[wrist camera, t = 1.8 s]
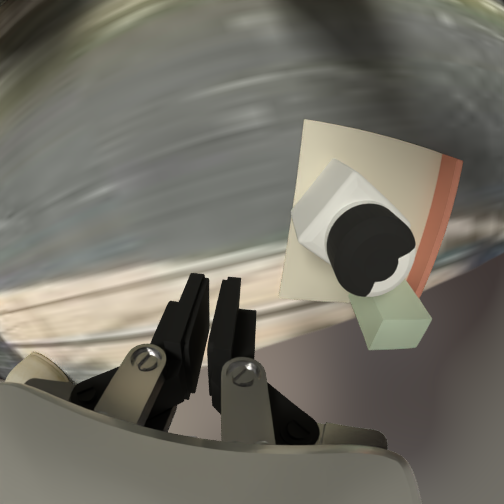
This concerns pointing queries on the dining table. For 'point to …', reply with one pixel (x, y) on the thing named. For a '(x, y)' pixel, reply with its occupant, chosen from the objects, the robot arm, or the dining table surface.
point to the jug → (36, 370)
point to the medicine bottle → (355, 231)
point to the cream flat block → (388, 184)
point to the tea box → (391, 318)
